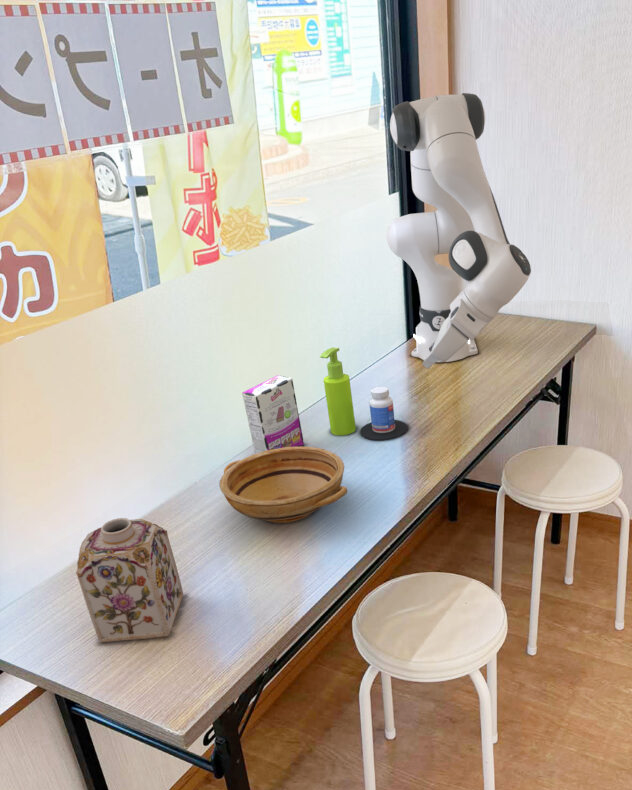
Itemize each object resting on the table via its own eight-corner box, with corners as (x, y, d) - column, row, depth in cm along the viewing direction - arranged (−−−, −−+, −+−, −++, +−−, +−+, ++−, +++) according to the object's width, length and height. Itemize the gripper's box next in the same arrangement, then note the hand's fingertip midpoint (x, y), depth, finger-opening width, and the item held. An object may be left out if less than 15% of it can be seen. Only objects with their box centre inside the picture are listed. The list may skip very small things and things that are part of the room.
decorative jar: (186, 595, 145) (161, 503, 137) (171, 637, 135) (144, 541, 126) (116, 601, 145) (88, 510, 137) (96, 644, 135) (64, 548, 126)
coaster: (365, 421, 204) (365, 419, 204) (410, 420, 202) (410, 419, 202) (356, 441, 194) (355, 439, 194) (403, 440, 192) (403, 438, 192)
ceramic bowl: (192, 519, 168) (183, 484, 165) (274, 468, 185) (268, 435, 182) (305, 556, 153) (298, 518, 149) (384, 497, 170) (380, 461, 166)
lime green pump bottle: (323, 435, 199) (311, 353, 189) (339, 423, 204) (328, 343, 194) (345, 438, 196) (333, 356, 186) (360, 426, 201) (350, 345, 192)
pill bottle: (395, 433, 195) (390, 393, 191) (371, 434, 196) (366, 395, 191) (395, 423, 200) (391, 384, 196) (373, 425, 201) (368, 386, 196)
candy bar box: (289, 440, 198) (277, 374, 190) (304, 445, 195) (293, 377, 187) (254, 460, 190) (240, 391, 182) (269, 464, 187) (256, 395, 180)
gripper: (464, 289, 190) (424, 333, 196) (453, 317, 172) (410, 365, 178) (485, 308, 191) (444, 351, 197) (476, 338, 173) (432, 384, 180)
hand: (428, 358), depth 188 cm, fingers open, 8 cm apart
